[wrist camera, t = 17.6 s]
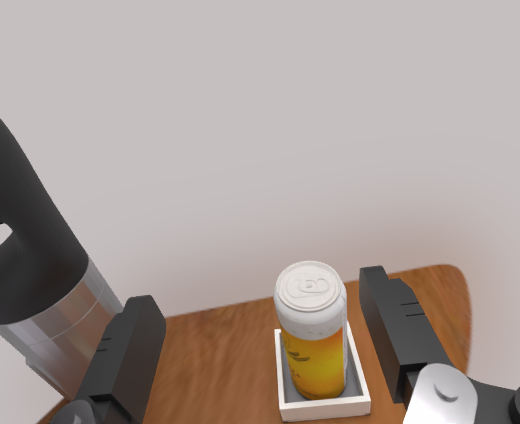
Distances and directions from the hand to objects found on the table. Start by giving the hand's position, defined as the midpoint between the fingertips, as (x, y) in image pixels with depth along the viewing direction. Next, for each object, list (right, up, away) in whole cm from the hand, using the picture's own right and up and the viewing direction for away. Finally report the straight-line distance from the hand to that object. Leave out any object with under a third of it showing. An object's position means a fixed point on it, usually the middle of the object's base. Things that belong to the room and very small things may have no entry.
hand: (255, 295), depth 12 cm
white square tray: (+7, -15, +22) cm, 28 cm away
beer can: (+7, -15, +22) cm, 28 cm away
